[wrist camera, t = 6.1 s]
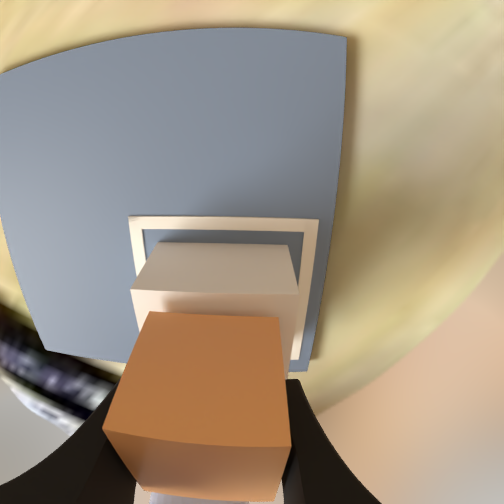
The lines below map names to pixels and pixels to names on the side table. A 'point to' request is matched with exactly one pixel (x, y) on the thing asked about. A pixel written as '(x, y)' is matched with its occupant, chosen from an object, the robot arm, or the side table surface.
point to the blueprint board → (166, 169)
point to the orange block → (204, 407)
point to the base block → (220, 284)
